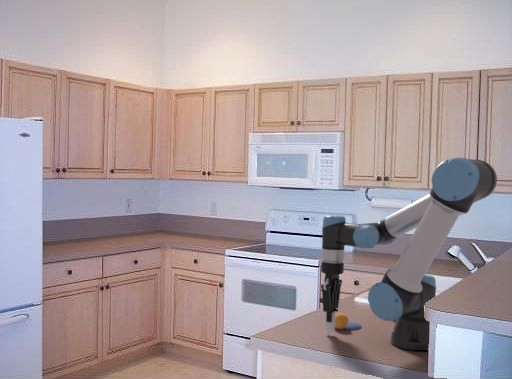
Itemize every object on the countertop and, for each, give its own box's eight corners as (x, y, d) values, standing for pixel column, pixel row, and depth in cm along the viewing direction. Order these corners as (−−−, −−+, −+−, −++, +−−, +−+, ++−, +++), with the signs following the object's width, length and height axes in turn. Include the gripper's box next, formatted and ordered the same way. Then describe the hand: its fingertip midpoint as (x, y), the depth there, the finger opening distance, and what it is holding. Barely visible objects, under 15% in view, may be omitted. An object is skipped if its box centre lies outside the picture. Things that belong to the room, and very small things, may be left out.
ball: (349, 317, 195) (349, 331, 197) (347, 310, 201) (347, 324, 202) (333, 317, 196) (333, 331, 197) (332, 310, 201) (332, 324, 202)
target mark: (368, 328, 201) (368, 327, 201) (341, 331, 195) (341, 331, 195) (347, 320, 211) (347, 319, 211) (321, 323, 206) (321, 322, 206)
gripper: (329, 257, 198) (327, 324, 198) (314, 262, 187) (311, 333, 187) (350, 260, 194) (347, 328, 195) (335, 264, 183) (332, 337, 183)
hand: (330, 330), depth 191 cm, fingers closed
